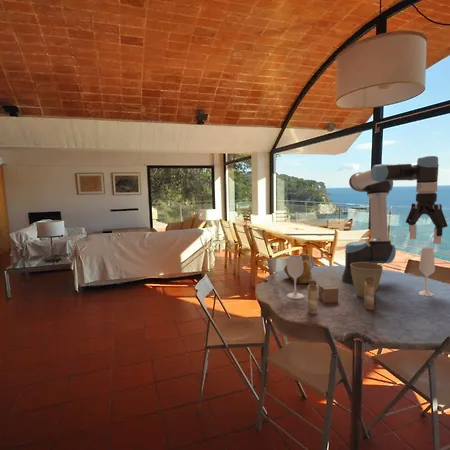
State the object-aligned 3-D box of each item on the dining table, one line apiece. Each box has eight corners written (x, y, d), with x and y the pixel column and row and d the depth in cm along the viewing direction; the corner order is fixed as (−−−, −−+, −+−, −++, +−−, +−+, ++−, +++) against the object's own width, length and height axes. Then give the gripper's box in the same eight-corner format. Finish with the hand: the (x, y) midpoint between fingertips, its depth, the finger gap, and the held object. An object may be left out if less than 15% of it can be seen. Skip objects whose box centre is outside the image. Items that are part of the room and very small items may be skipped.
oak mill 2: (362, 306, 139) (363, 275, 137) (370, 306, 139) (371, 274, 138) (367, 309, 135) (368, 277, 133) (375, 309, 135) (376, 277, 134)
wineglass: (294, 300, 149) (294, 259, 147) (283, 295, 157) (283, 256, 154) (307, 297, 153) (307, 257, 151) (296, 292, 161) (296, 254, 158)
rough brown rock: (286, 274, 199) (284, 252, 197) (312, 274, 193) (310, 251, 192) (282, 286, 177) (280, 262, 175) (311, 286, 171) (309, 260, 170)
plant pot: (360, 302, 144) (361, 270, 143) (344, 292, 159) (344, 263, 157) (388, 299, 147) (389, 267, 145) (369, 290, 161) (370, 261, 160)
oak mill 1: (306, 310, 136) (306, 278, 134) (314, 310, 136) (315, 278, 135) (310, 314, 132) (310, 281, 130) (318, 313, 132) (318, 280, 131)
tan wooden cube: (318, 298, 152) (318, 284, 151) (331, 297, 152) (331, 284, 152) (324, 303, 145) (324, 289, 144) (338, 302, 145) (338, 288, 145)
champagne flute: (418, 291, 158) (420, 246, 155) (433, 293, 154) (436, 247, 151) (417, 294, 152) (419, 248, 150) (433, 297, 149) (435, 249, 146)
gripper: (398, 193, 141) (396, 237, 143) (443, 192, 116) (440, 246, 119) (412, 192, 142) (411, 236, 144) (460, 192, 117) (457, 245, 120)
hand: (424, 241), depth 131 cm, fingers open, 13 cm apart
